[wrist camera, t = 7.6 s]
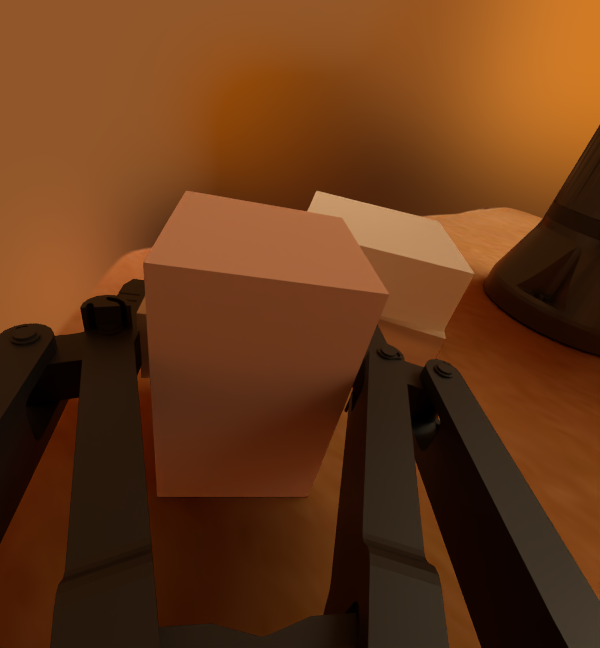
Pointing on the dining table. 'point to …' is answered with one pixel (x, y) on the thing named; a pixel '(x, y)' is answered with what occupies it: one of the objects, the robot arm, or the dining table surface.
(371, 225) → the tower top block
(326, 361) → the tall block
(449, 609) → the dining table surface
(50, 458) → the dining table surface
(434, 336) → the tower base block
